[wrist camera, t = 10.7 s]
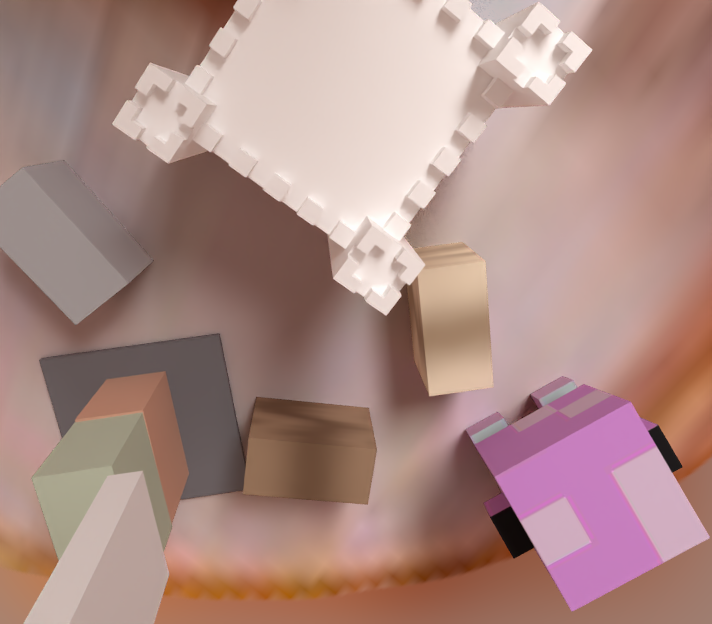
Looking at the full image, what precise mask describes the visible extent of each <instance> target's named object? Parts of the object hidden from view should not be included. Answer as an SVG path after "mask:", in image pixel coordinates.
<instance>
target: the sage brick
mask: <svg viewBox="0 0 712 624" xmlns="http://www.w3.org/2000/svg"><path fill="white" fill-rule="evenodd" d="M137 471H143V474H144V478H145V482H146V486H147V489H148V493H149V497H150V501H151V505H152V509H153V513H154V517H155V521H156V524H157V528H158V532H159V536H160V540H161V544H162V548H163V552H164V549H165V547H166V544H167V541H168V538H169V535H170V532H171V529H172V524H171V520H170V516H169V512H168V508H167V505H166V501H165V497H164V493H163V489H162V485H161V481H160V478H159V474H158V470H157V466H156V462H155V458H154V455H153V451H152V447H151V443H150V439H149V435H148V432H147V428H146V424H145V420H144V416H143V412H141V413H135V414H128V415H121V416H115V417H108V418H101V419H95V420H88V421H81V422H75V423H74V424H73V425H72V427H71V428H70V429H69V430H68V432H67V433H66V434H65V436H64V437H63V438H62V439H61V441H60V442H59V443H58V445H57V446H56V447H55V448H54V450H53V451H52V452H51V454H50V455H49V456H48V457H47V459H46V460H45V461H44V463H43V464H42V465H41V466H40V468H39V469H38V470H37V472H36V473H35V474H34V475H33V477H32V478H31V479H32V482H33V485H34V488H35V491H36V494H37V497H38V500H39V503H40V506H41V509H42V512H43V515H44V518H45V521H46V524H47V527H48V530H49V533H50V536H51V539H52V542H53V545H54V548H55V551H56V554H57V557H58V560H60V558H61V557H62V555H63V553H64V551H65V550H66V548H67V546H68V544H69V543H70V541H71V539H72V537H73V536H74V534H75V532H76V530H77V529H78V527H79V525H80V523H81V522H82V520H83V518H84V516H85V515H86V513H87V511H88V509H89V508H90V506H91V504H92V502H93V501H94V499H95V497H96V495H97V493H98V492H99V490H100V488H101V486H102V485H103V483H104V481H105V479H106V478H107V476H109V475H116V474H123V473H130V472H137Z"/></svg>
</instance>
